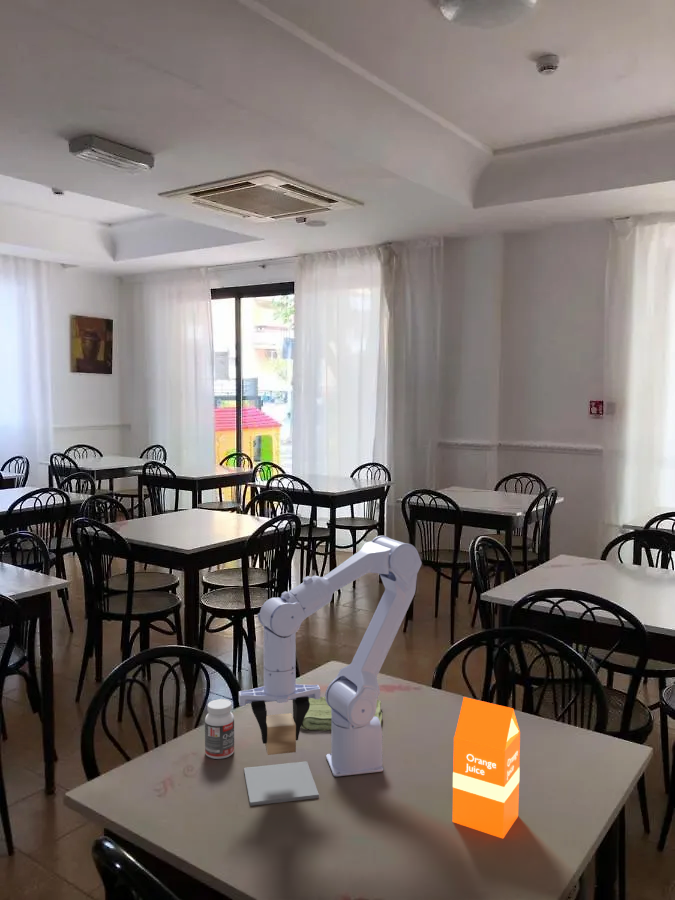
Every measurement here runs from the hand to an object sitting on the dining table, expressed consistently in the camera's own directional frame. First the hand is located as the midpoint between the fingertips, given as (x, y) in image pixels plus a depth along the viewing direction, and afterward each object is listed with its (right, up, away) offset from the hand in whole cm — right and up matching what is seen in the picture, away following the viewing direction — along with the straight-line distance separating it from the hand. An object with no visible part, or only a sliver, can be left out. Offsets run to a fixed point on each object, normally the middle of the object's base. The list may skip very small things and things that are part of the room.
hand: (279, 739), depth 133 cm
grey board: (0, -8, +1) cm, 8 cm away
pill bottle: (-13, -8, +12) cm, 19 cm away
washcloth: (+11, -7, +28) cm, 31 cm away
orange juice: (+35, -10, -10) cm, 38 cm away
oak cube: (0, -1, 0) cm, 1 cm away
